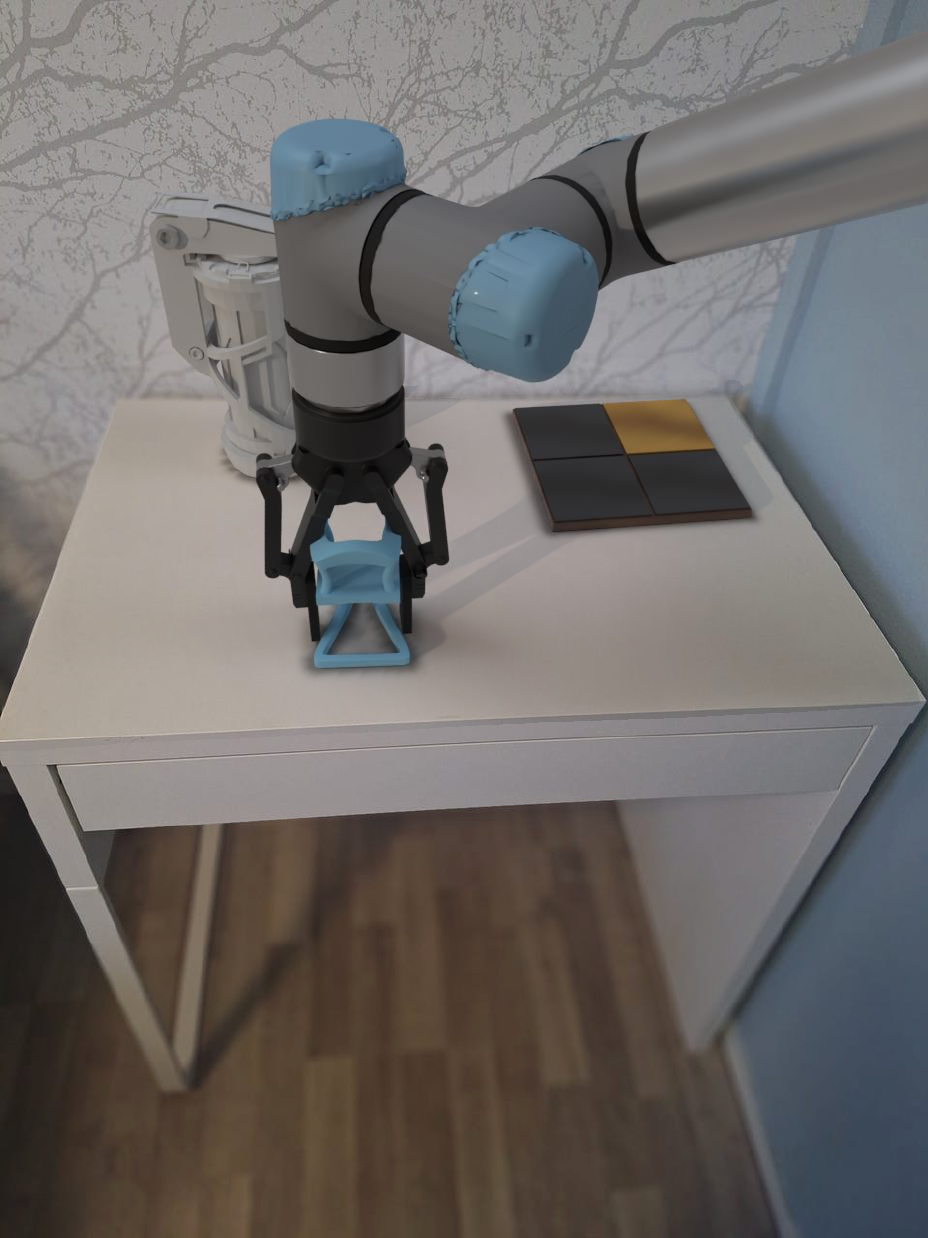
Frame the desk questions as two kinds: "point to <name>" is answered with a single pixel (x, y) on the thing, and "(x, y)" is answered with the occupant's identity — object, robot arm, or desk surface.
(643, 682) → the desk surface
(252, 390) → the grey tall piece
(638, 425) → the board
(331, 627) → the chair
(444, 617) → the desk surface
